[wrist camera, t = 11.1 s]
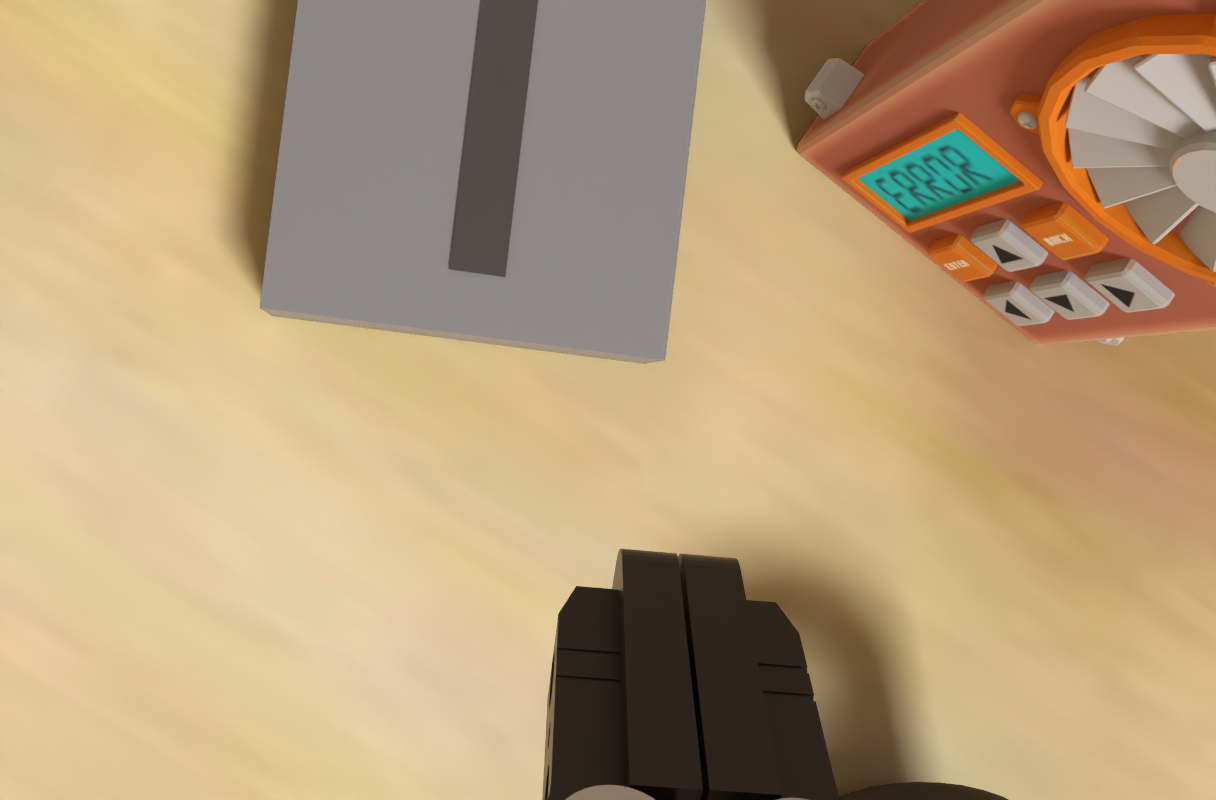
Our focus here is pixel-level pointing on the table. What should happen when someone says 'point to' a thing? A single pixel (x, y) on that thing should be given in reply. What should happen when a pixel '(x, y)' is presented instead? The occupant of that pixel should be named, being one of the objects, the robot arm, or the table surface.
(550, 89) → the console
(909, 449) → the table surface
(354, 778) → the table surface
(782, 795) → the robot arm
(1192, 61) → the control panel
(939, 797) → the muzzle brake
